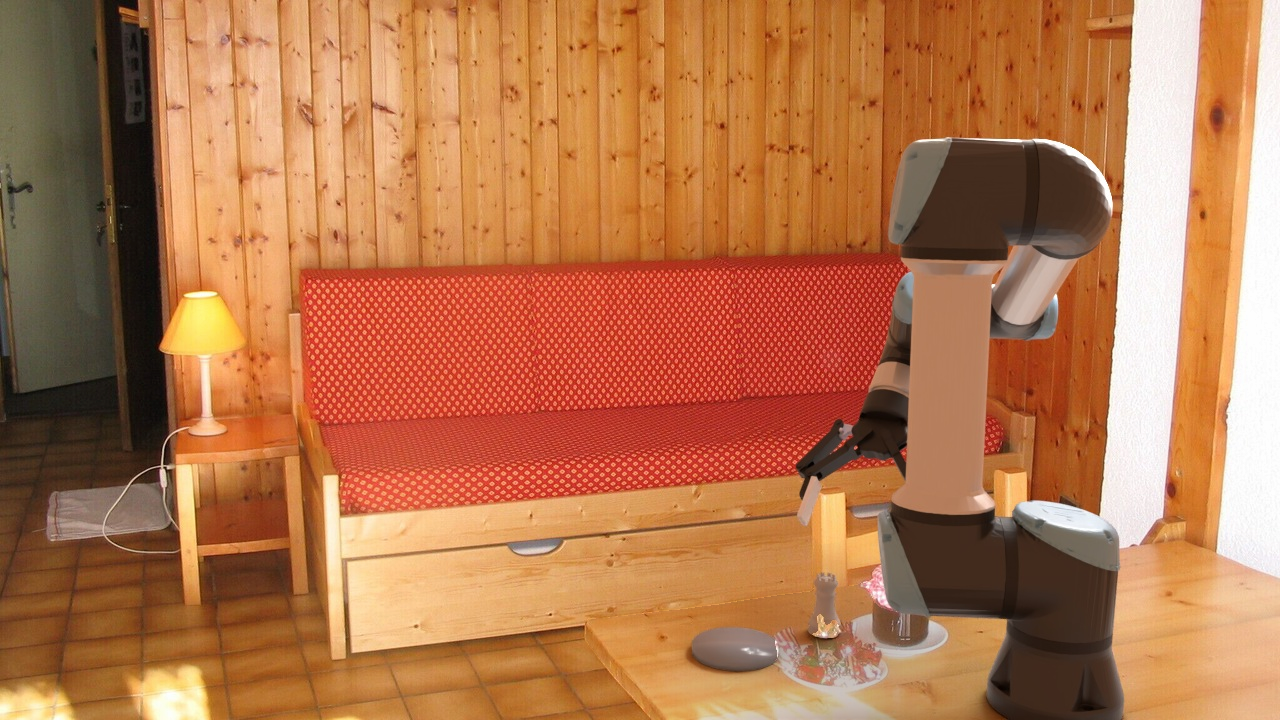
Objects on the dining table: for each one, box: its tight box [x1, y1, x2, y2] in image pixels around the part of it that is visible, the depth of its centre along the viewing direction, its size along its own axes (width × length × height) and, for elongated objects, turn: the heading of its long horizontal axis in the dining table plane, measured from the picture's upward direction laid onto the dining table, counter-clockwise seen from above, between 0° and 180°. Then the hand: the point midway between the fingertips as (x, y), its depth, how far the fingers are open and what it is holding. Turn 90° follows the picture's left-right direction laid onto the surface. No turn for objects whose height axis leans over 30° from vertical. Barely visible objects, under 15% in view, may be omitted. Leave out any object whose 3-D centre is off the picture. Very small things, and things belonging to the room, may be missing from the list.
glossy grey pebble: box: [691, 626, 778, 672], centre depth 161 cm, size 11×11×1 cm
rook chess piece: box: [807, 572, 842, 635], centre depth 167 cm, size 4×4×8 cm
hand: (847, 529), depth 173 cm, fingers open, 13 cm apart
